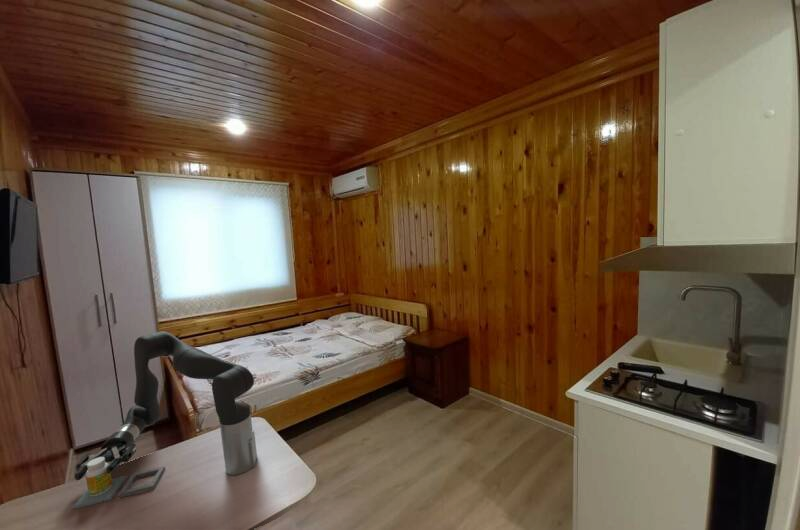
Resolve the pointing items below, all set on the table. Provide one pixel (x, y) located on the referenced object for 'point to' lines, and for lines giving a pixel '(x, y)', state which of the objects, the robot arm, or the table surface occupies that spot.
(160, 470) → the collar
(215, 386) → the robot arm
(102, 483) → the supplement bottle
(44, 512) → the table surface
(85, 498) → the board
